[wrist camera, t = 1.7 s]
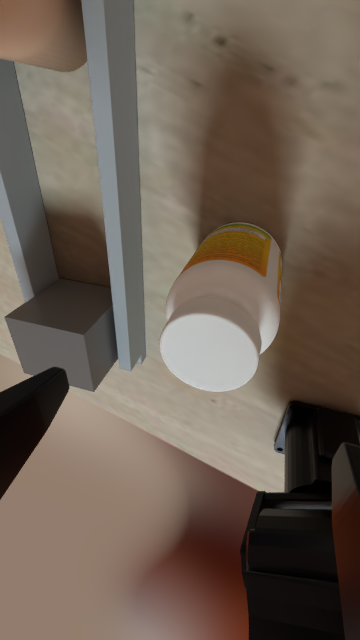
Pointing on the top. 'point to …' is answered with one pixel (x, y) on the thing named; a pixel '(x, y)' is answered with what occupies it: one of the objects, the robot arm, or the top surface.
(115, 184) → the tray
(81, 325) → the block
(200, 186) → the top surface
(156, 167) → the top surface
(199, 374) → the supplement bottle
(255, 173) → the top surface
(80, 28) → the jar
